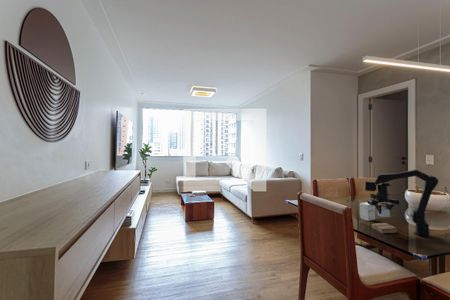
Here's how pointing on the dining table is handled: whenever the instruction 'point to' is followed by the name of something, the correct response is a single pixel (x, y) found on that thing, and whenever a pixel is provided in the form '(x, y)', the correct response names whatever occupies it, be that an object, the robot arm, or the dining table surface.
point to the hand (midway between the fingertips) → (383, 214)
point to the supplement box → (367, 211)
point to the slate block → (384, 212)
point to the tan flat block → (384, 228)
